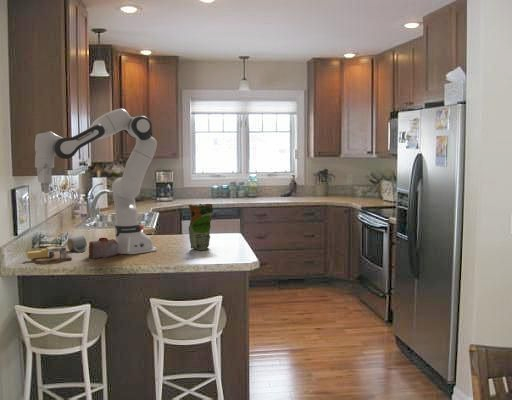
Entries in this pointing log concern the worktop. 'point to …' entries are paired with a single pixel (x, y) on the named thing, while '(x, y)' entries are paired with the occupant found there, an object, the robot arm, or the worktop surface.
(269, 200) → the worktop surface
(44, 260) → the base
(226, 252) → the worktop surface
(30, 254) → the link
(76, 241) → the ceramic mug
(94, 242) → the small brown suitcase
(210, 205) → the pouch
